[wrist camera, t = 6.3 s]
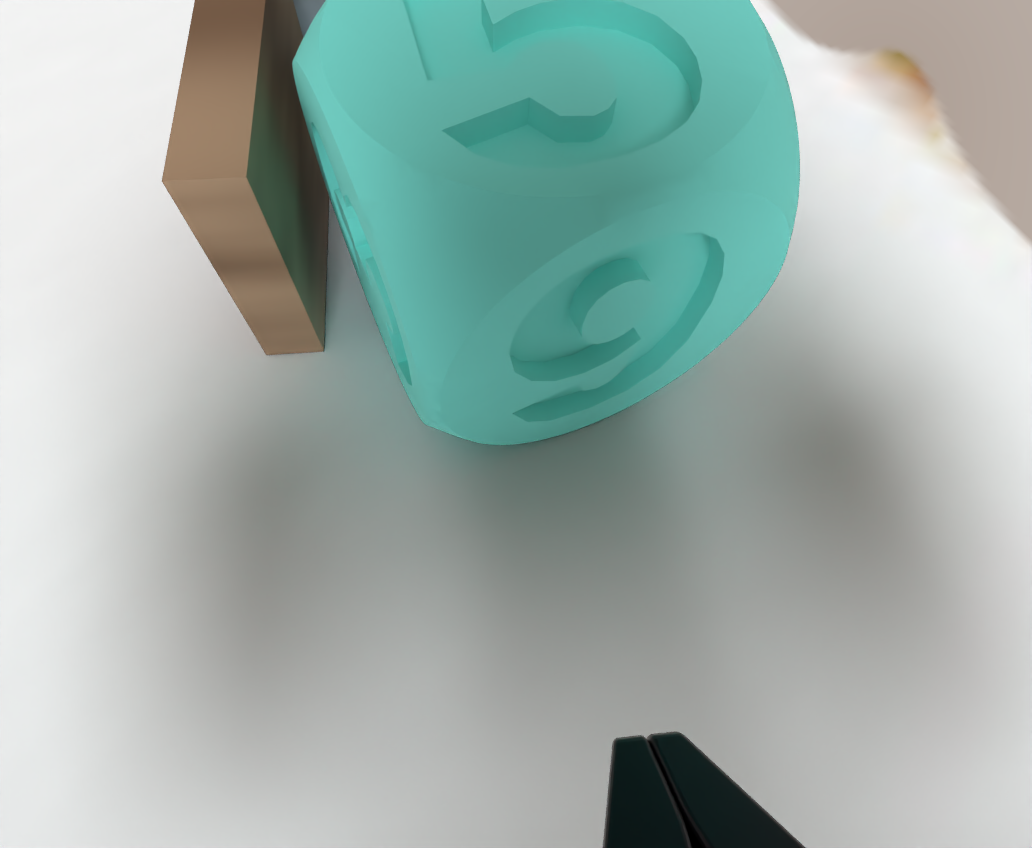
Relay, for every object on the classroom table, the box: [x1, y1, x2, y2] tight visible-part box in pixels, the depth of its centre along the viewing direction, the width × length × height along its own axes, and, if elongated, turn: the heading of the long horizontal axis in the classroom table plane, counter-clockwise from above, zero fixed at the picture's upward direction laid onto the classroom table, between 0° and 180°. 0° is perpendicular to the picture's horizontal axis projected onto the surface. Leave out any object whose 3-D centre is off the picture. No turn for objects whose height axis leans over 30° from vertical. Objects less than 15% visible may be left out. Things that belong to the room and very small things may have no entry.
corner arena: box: [162, 0, 329, 355], centre depth 17 cm, size 10×10×6 cm
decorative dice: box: [292, 0, 800, 445], centre depth 15 cm, size 8×8×8 cm
